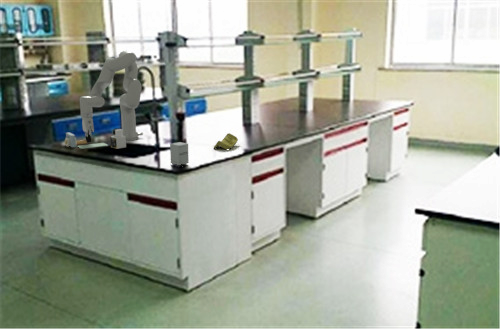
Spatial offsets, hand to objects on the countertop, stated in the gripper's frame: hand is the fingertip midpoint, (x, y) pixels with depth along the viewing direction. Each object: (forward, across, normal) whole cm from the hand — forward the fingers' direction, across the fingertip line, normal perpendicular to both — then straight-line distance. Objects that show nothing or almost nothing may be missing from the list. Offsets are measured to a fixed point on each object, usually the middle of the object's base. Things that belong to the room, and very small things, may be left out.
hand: (88, 142), depth 362 cm
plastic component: (+1, -60, -72) cm, 94 cm away
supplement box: (+1, -87, -25) cm, 90 cm away
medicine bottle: (+1, -22, -13) cm, 25 cm away
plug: (+1, 0, +9) cm, 9 cm away
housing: (+1, 0, +12) cm, 12 cm away
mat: (+1, -9, 0) cm, 9 cm away
